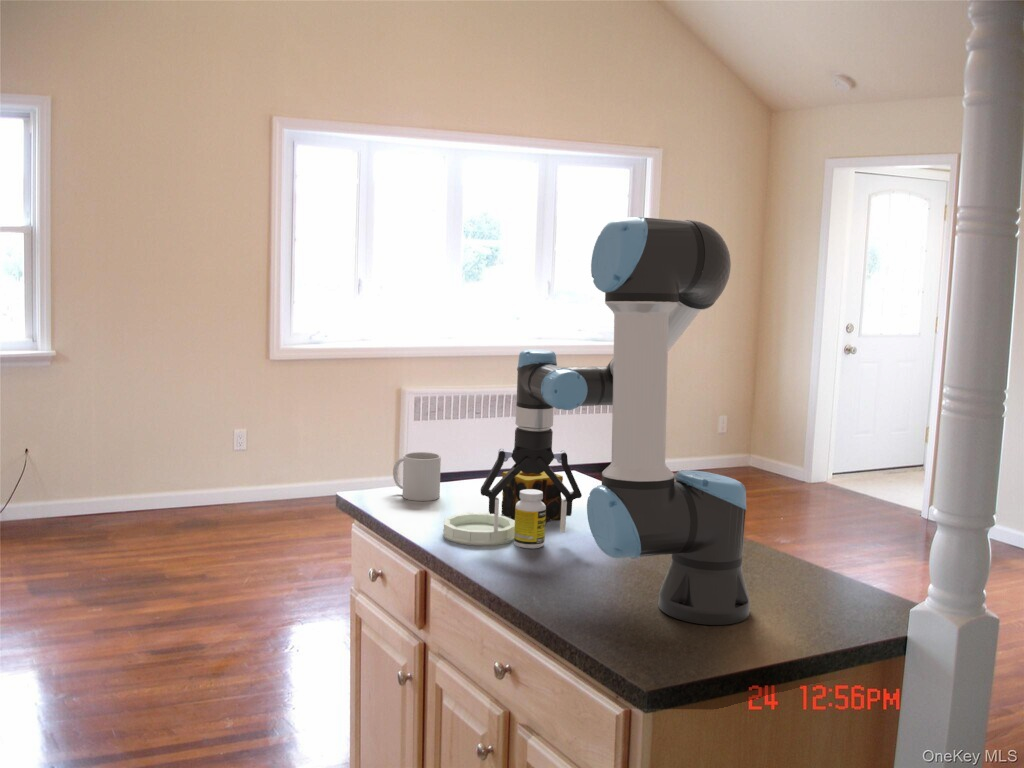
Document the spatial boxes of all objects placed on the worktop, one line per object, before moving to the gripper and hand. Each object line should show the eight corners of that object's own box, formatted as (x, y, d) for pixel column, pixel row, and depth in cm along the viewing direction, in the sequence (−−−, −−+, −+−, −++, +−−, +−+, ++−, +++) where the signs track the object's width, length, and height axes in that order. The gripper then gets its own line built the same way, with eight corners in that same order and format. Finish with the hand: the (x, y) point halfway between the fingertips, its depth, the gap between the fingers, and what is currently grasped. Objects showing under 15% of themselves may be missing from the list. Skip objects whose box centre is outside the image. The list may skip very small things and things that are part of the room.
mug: (445, 499, 239) (446, 458, 237) (408, 502, 234) (409, 460, 233) (427, 489, 248) (428, 449, 247) (391, 492, 244) (392, 451, 242)
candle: (562, 520, 224) (565, 476, 223) (525, 525, 219) (527, 480, 217) (536, 509, 233) (538, 467, 231) (500, 514, 227) (501, 471, 226)
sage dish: (517, 546, 202) (517, 533, 202) (442, 545, 201) (442, 531, 201) (513, 526, 217) (513, 513, 217) (443, 524, 216) (444, 512, 216)
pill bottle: (541, 550, 200) (543, 496, 199) (511, 547, 201) (513, 493, 200) (546, 542, 206) (549, 489, 205) (517, 539, 207) (519, 487, 206)
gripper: (593, 425, 205) (588, 526, 208) (471, 421, 204) (467, 523, 207) (598, 432, 198) (592, 537, 201) (471, 428, 196) (467, 533, 199)
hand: (529, 530), depth 204 cm, fingers open, 13 cm apart
